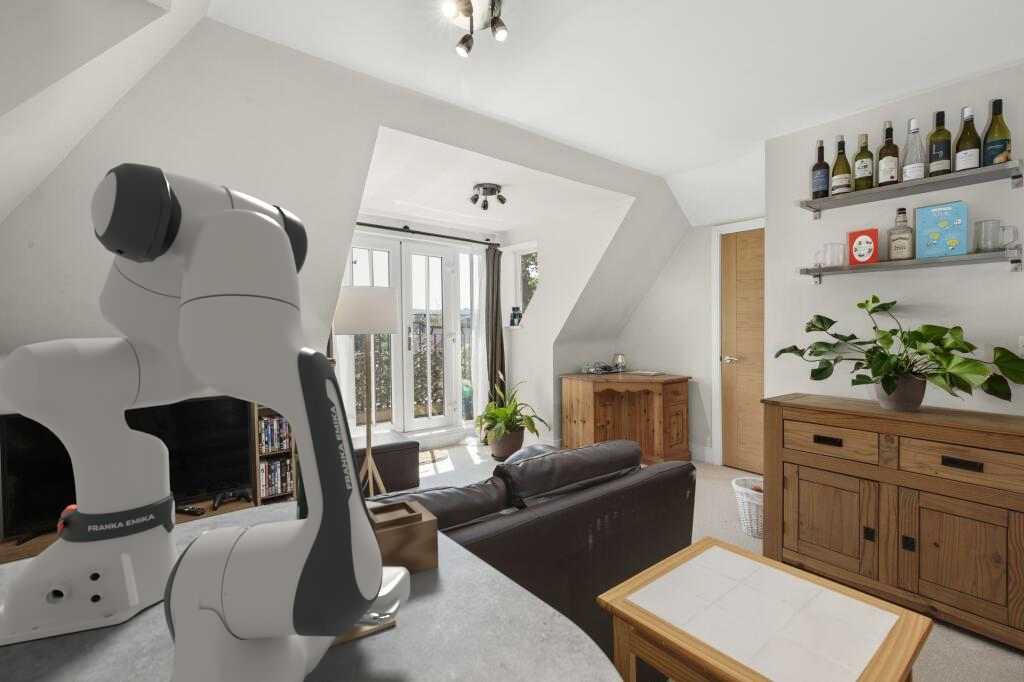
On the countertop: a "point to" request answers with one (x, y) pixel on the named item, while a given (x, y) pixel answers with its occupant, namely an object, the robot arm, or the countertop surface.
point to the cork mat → (360, 632)
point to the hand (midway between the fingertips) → (349, 560)
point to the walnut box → (406, 535)
